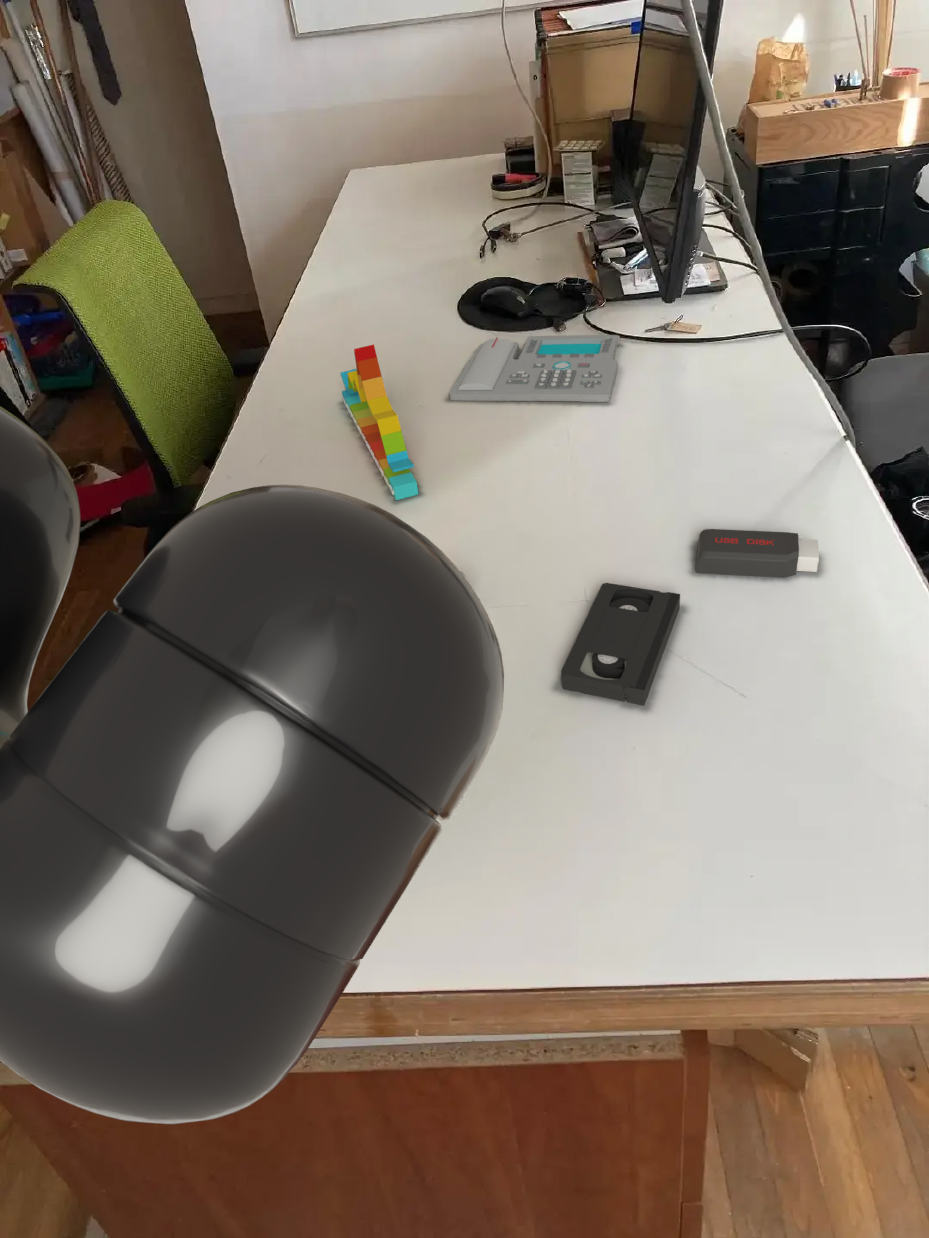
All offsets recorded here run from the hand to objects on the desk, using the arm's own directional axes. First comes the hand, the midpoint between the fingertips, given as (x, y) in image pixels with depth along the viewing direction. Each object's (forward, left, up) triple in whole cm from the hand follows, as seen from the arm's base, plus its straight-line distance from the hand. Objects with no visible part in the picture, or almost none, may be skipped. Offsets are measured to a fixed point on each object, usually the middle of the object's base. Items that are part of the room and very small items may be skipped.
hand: (263, 767), depth 49 cm
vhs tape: (+35, +23, -25) cm, 49 cm away
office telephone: (+56, +83, -25) cm, 103 cm away
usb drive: (+54, +28, -25) cm, 66 cm away
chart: (+27, +76, -25) cm, 84 cm away
